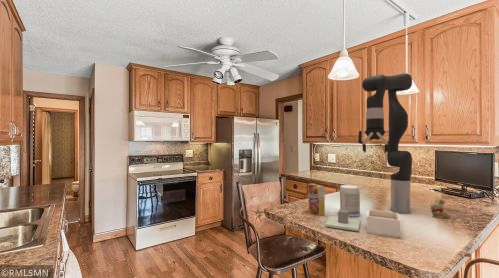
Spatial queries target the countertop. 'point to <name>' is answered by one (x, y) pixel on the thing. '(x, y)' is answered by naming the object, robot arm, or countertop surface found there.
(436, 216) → the chocolate bunny
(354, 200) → the supplement tub
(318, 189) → the candy box
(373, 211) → the storage box
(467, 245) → the countertop surface
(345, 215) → the lid
